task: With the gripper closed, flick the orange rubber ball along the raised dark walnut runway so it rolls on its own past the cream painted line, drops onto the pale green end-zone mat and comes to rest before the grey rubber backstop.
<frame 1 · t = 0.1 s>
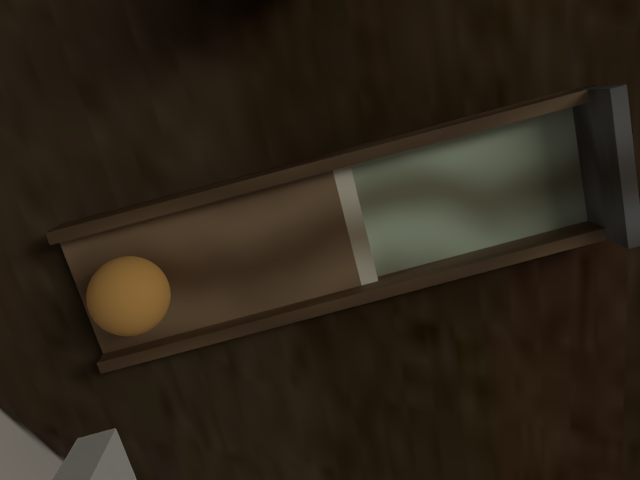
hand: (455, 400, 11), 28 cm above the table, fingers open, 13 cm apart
lane: (339, 225, 39), on the table
ball: (129, 295, 35), point 4 cm above the table, touching lane
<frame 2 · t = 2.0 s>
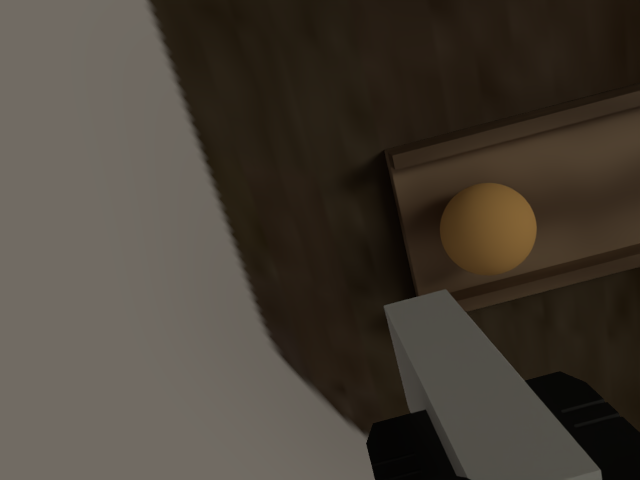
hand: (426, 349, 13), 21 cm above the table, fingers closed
ball: (487, 229, 30), point 4 cm above the table, touching lane
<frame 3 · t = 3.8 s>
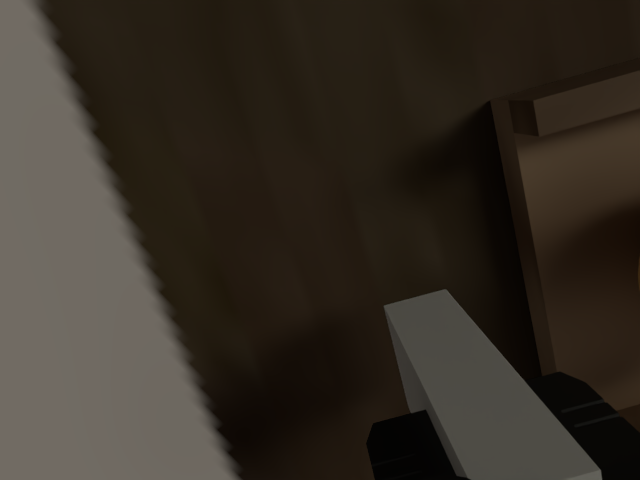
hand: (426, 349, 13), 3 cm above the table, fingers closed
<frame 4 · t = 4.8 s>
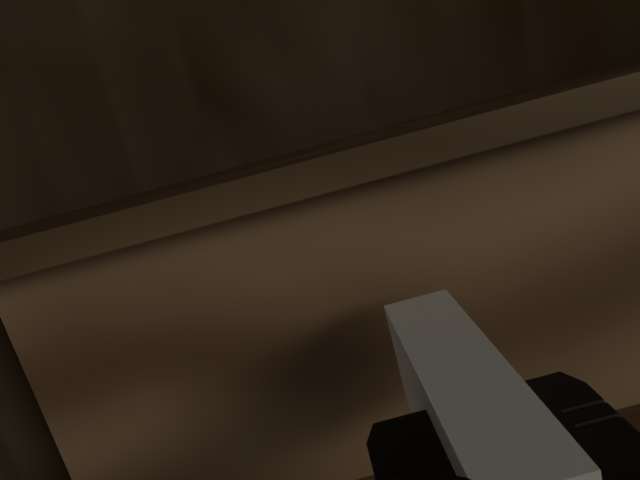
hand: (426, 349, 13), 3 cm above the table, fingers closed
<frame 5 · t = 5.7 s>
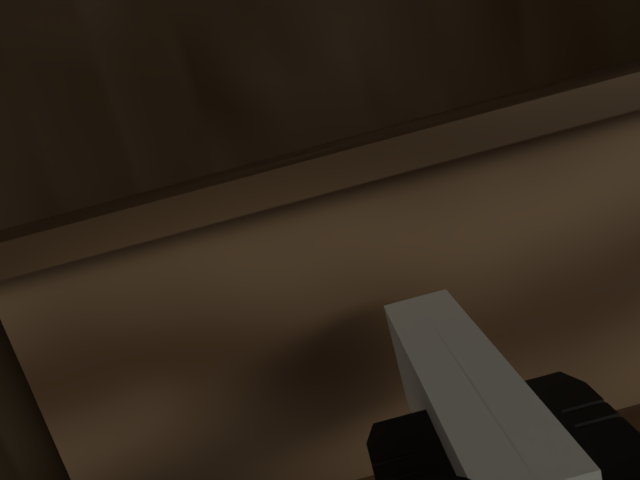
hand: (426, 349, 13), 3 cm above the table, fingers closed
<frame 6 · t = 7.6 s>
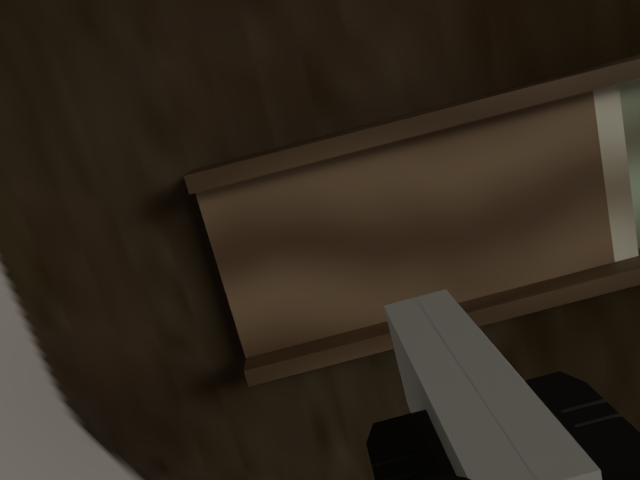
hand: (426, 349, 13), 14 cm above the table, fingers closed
lane: (582, 177, 27), on the table
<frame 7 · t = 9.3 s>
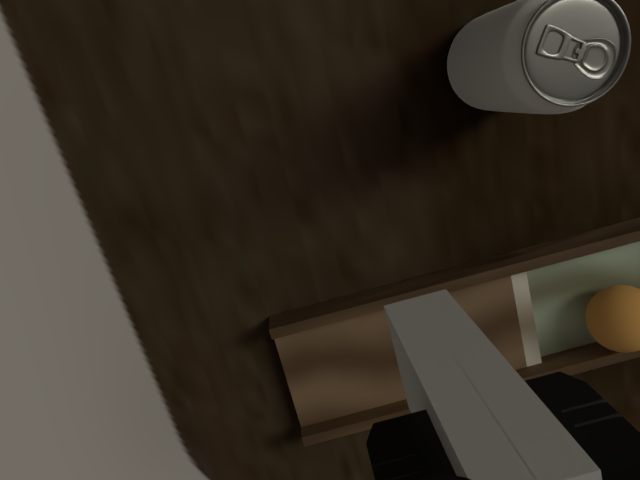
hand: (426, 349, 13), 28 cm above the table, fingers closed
can: (489, 63, 40), on the table
lane: (507, 314, 44), on the table
ball: (622, 318, 42), point 3 cm above the table, tilted 136°, touching lane
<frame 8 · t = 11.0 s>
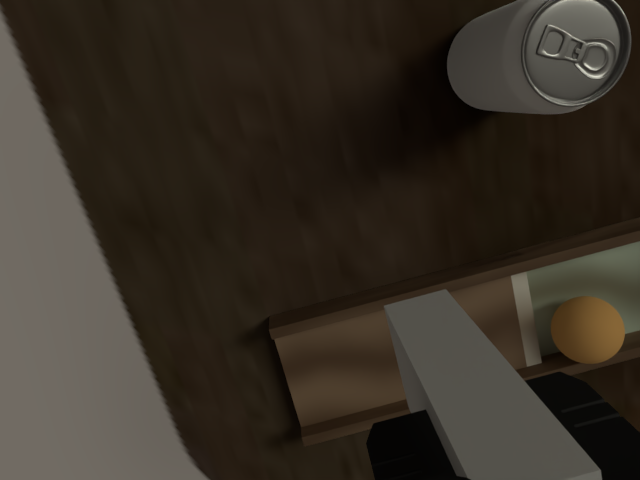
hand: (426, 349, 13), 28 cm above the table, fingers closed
can: (489, 63, 40), on the table
lane: (507, 314, 44), on the table
ball: (586, 329, 42), point 3 cm above the table, tilted 72°, touching lane
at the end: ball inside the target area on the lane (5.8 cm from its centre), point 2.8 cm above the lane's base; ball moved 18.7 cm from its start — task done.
